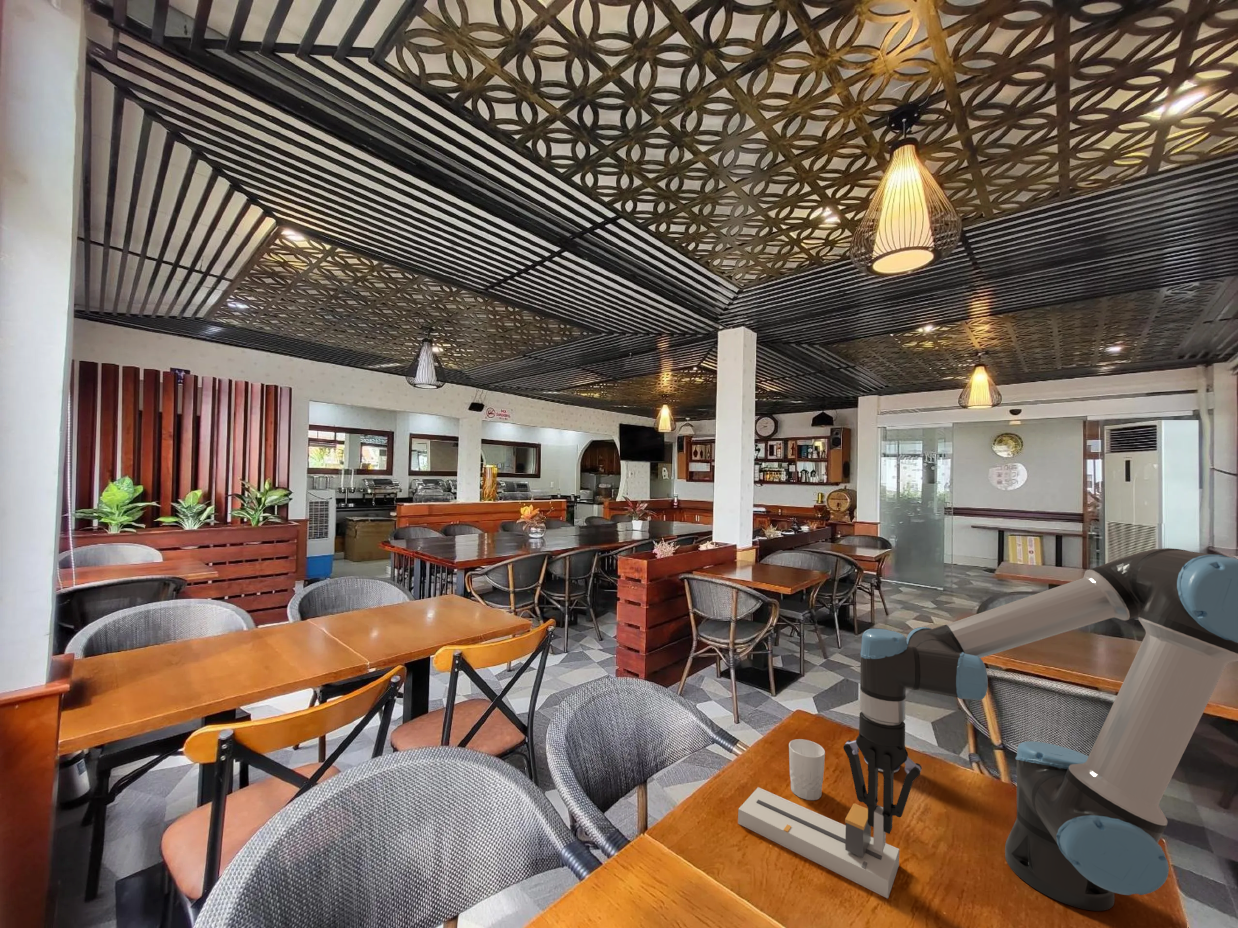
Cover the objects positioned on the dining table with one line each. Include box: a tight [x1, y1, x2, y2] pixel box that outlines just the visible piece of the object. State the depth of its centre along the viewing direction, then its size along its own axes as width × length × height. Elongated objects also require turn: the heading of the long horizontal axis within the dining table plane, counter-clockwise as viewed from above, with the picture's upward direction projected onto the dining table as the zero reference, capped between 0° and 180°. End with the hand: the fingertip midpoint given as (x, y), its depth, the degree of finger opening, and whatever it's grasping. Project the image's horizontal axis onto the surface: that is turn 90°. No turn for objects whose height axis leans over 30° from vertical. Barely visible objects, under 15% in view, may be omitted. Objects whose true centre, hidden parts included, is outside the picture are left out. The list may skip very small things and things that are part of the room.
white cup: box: [788, 738, 826, 801], centre depth 115 cm, size 8×8×10 cm
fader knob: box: [844, 802, 872, 858], centre depth 93 cm, size 3×6×6 cm, turn 141°
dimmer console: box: [737, 786, 900, 899], centre depth 98 cm, size 28×10×3 cm, turn 51°
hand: (879, 845), depth 90 cm, fingers closed
